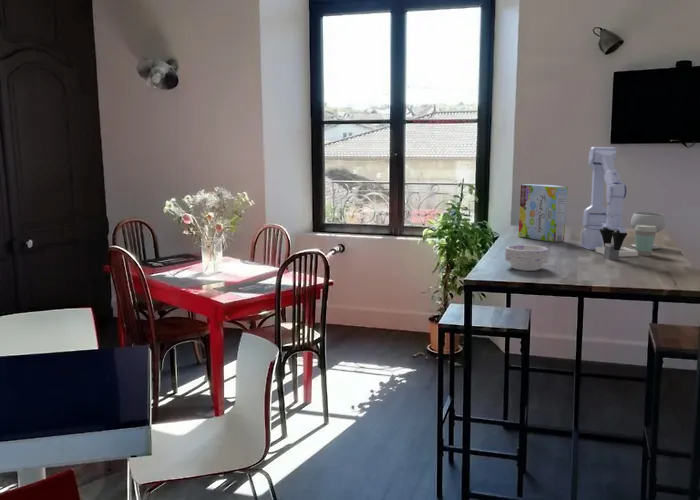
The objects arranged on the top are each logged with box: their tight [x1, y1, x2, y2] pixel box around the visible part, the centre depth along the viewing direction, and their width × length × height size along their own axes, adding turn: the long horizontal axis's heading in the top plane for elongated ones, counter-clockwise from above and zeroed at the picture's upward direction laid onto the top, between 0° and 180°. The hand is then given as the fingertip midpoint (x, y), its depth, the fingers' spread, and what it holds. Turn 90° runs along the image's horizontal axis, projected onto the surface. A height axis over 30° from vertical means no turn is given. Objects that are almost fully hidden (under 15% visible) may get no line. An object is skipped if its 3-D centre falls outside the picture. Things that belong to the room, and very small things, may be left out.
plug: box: [603, 242, 620, 261], centre depth 258 cm, size 4×4×6 cm
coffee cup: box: [634, 225, 658, 257], centre depth 267 cm, size 8×8×12 cm
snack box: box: [518, 183, 568, 243], centre depth 306 cm, size 22×9×26 cm, turn 34°
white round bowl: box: [504, 244, 549, 272], centre depth 237 cm, size 15×15×8 cm
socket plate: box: [595, 246, 639, 257], centre depth 269 cm, size 12×12×2 cm
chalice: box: [630, 211, 667, 250], centre depth 285 cm, size 14×14×15 cm
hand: (612, 248), depth 257 cm, fingers open, 7 cm apart
